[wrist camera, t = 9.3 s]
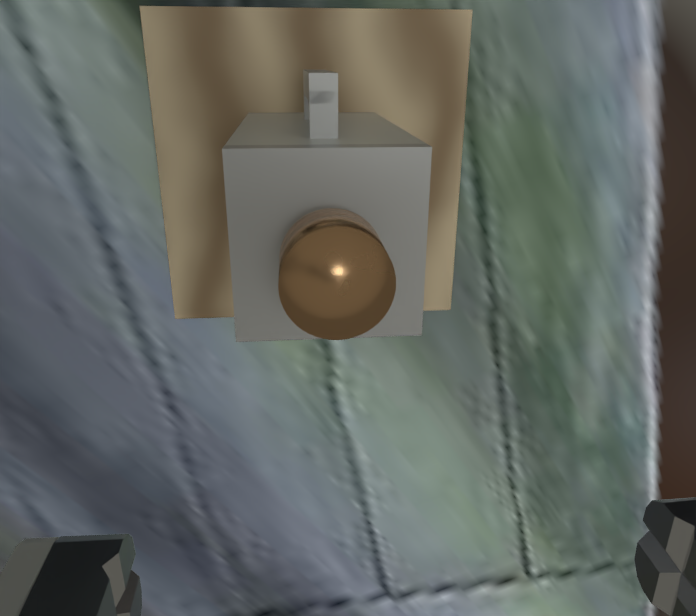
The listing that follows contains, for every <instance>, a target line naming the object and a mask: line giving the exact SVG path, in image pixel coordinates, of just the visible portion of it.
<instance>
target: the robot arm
mask: <svg viewBox="0 0 696 616" xmlns="http://www.w3.org/2000/svg"><path fill="white" fill-rule="evenodd" d="M643 522H644V523H645V525H646V526H647V528H648V529H649V531H648V532H647V533H646V534H645V535H644V536H643V537H642V538H641V539H640V540H639V541H638V543H637V548H636V554H635V565H636V572H637V577H638V579H639V582H640V584H641V587H642V589H643V591H644V593H645V594H646V596H647V597H648V599H649V600H650V602H651V603H652V604H653V605H654V606H656V607H657V608H659V609H660V610H662V611H663V612H665V613H667V614H668V615H670V616H696V497H694V498H680V499H666V500H652V501H651V502H650V504H649V505H648V506H647V507H646V510H645V514H644V518H643ZM135 555H136V553H135V548H134V543H133V538H132V536H130V535H129V534H107V535H81V536H61V537H49V538H25V539H24V540H23V541H21V542H20V543H19V544H18V545H17V546H16V547H15V549H14V551H13V552H12V554H11V556H10V558H9V560H8V561H7V563H6V565H5V567H4V568H3V570H2V572H1V574H0V616H141V610H142V590H141V583H140V577H139V576H138V575H137V574H136V573H135V572H133V571H132V570H131V568H132V565H133V561H134V558H135Z"/></svg>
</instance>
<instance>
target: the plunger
mask: <svg viewBox="0 0 696 616" xmlns="http://www.w3.org/2000/svg"><path fill="white" fill-rule="evenodd" d="M278 290H279V297H280V301H281V304H282V306H283V309H284V310H285V312H286V314H287V315H288V317H289V318H290V319H291V321H292V322H293V323H294V324H295V325H296V326H298V327H299V328H300V329H302V330H303V331H305V332H307V333H308V334H310V335H313V336H315V337H319V338H322V339H329V340H342V339H349V338H353V337H356V336H359V335H361V334H363V333H365V332H367V331H369V330H370V329H372V328H373V327H374V326H376V325H377V324H378V323H379V322H380V321H381V320H382V319H383V318H384V316H385V315H386V314H387V312H388V310H389V309H390V307H391V305H392V302H393V300H394V296H395V292H396V275H395V270H394V267H393V263H392V261H391V259H390V257H389V255H388V253H387V251H386V250H385V248H384V246H383V244H382V242H381V240H380V238H379V236H378V234H377V232H376V231H375V229H374V228H373V227H372V226H371V224H370V223H369V222H368V221H366V220H365V219H364V218H363V217H361V216H359V215H358V214H356V213H354V212H351V211H348V210H345V209H339V208H326V209H320V210H316V211H314V212H311V213H309V214H307V215H305V216H303V217H302V218H300V219H299V220H298V221H297V222H296V223H294V224H293V226H292V227H291V228H290V229H289V231H288V232H287V234H286V235H285V237H284V240H283V242H282V245H281V249H280V256H279V281H278Z"/></svg>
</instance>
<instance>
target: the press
mask: <svg viewBox="0 0 696 616" xmlns="http://www.w3.org/2000/svg"><path fill="white" fill-rule="evenodd" d="M303 91H304V112H287V113H248V114H247V116H246V117H245V118H244V120H243V121H242V122H241V124H240V125H239V126H238V128H237V129H236V130H235V132H234V133H233V135H232V136H231V137H230V139H229V140H228V141H227V143H226V144H225V145H224V147H223V148H222V156H223V170H224V183H225V197H226V211H227V224H228V238H229V251H230V265H231V279H232V292H233V306H234V319H235V333H236V342H248V341H275V340H303V339H322V338H319V337H315V336H313V335H310V334H308V333H307V332H305V331H303V330H302V329H300V328H299V327H298V326H296V325H295V324H294V323H293V322H292V321H291V319H290V318H289V317H288V315H287V314H286V312H285V310H284V309H283V306H282V304H281V301H280V297H279V290H278V281H279V256H280V249H281V245H282V242H283V240H284V237H285V235H286V234H287V232H288V231H289V229H290V228H291V227H292V226H293V224H294V223H296V222H297V221H298V220H299V219H300V218H302V217H303V216H305V215H307V214H309V213H311V212H314V211H316V210H320V209H326V208H339V209H345V210H348V211H351V212H354V213H356V214H358V215H359V216H361V217H363V218H364V219H365V220H366V221H368V222H369V223H370V224H371V226H372V227H373V228H374V229H375V231H376V232H377V234H378V236H379V238H380V240H381V242H382V244H383V246H384V248H385V250H386V251H387V253H388V255H389V257H390V259H391V261H392V263H393V267H394V270H395V275H396V292H395V296H394V300H393V302H392V305H391V307H390V309H389V310H388V312H387V314H386V315H385V316H384V318H383V319H382V320H381V321H380V322H379V323H378V324H377V325H376V326H374V327H373V328H372V329H370V330H369V331H367V332H365V333H363V334H361V335H359V336H356V337H353V338H358V337H386V336H414V335H422V322H423V304H424V285H425V267H426V249H427V230H428V212H429V194H430V176H431V157H432V147H431V146H430V145H428V144H426V143H425V142H423V141H421V140H420V139H418V138H416V137H415V136H413V135H411V134H410V133H408V132H406V131H405V130H403V129H401V128H400V127H398V126H396V125H395V124H393V123H391V122H390V121H388V120H386V119H385V118H383V117H381V116H380V115H378V114H376V113H375V112H338V73H336V72H332V71H328V70H303Z"/></svg>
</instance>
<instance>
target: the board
mask: <svg viewBox="0 0 696 616" xmlns="http://www.w3.org/2000/svg"><path fill="white" fill-rule="evenodd" d="M140 14H141V23H142V32H143V40H144V49H145V58H146V67H147V75H148V84H149V93H150V102H151V111H152V119H153V128H154V137H155V146H156V154H157V163H158V172H159V181H160V190H161V198H162V207H163V216H164V225H165V233H166V242H167V251H168V260H169V269H170V277H171V286H172V295H173V304H174V312H175V319H185V318H216V317H234V306H233V292H232V279H231V265H230V251H229V238H228V224H227V211H226V197H225V183H224V170H223V156H222V148H223V147H224V145H225V144H226V143H227V141H228V140H229V139H230V137H231V136H232V135H233V133H234V132H235V130H236V129H237V128H238V126H239V125H240V124H241V122H242V121H243V120H244V118H245V117H246V116H247V114H248V113H287V112H304V91H303V70H328V71H332V72H336V73H338V112H375V113H376V114H378V115H380V116H381V117H383V118H385V119H386V120H388V121H390V122H391V123H393V124H395V125H396V126H398V127H400V128H401V129H403V130H405V131H406V132H408V133H410V134H411V135H413V136H415V137H416V138H418V139H420V140H421V141H423V142H425V143H426V144H428V145H430V146H431V147H432V157H431V176H430V194H429V212H428V230H427V249H426V267H425V285H424V304H423V311H430V310H451V297H452V283H453V270H454V256H455V242H456V229H457V215H458V201H459V188H460V174H461V160H462V147H463V133H464V119H465V106H466V92H467V78H468V65H469V51H470V37H471V24H472V10H451V9H362V8H274V7H185V6H140Z"/></svg>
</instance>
